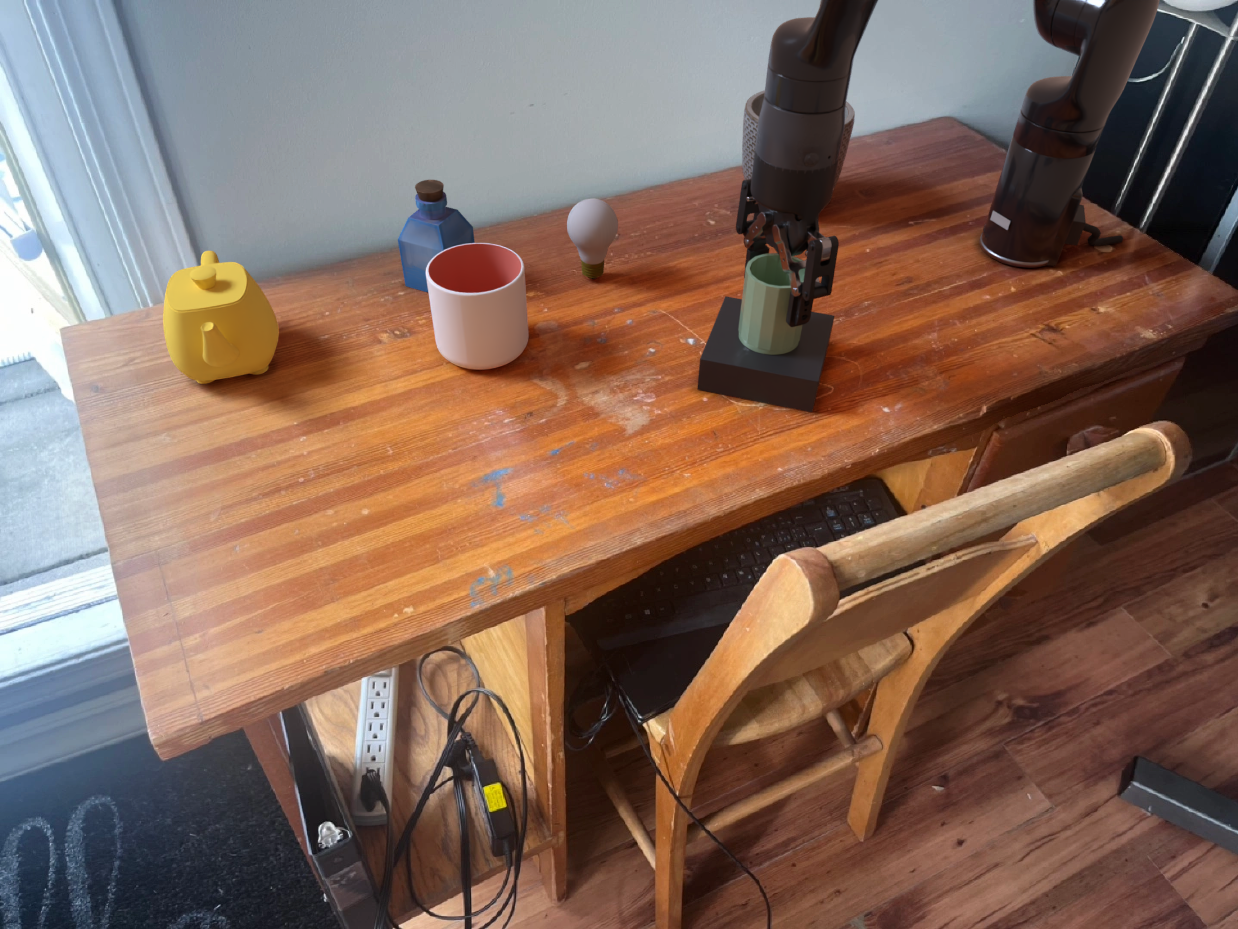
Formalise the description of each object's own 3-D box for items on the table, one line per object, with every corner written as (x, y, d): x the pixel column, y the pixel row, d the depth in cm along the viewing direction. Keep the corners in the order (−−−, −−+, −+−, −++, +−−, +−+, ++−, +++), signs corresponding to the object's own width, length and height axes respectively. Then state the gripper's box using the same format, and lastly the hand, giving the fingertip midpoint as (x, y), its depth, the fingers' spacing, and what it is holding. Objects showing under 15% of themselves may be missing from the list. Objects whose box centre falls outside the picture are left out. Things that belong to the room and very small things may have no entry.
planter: (728, 220, 124) (738, 124, 115) (741, 173, 134) (751, 81, 125) (834, 234, 122) (853, 137, 113) (840, 184, 131) (857, 91, 123)
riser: (828, 345, 104) (834, 315, 101) (812, 412, 96) (818, 381, 93) (722, 326, 106) (725, 295, 104) (697, 389, 98) (699, 358, 95)
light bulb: (627, 277, 113) (629, 201, 107) (593, 297, 110) (592, 219, 103) (592, 259, 116) (591, 183, 109) (558, 277, 113) (555, 201, 106)
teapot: (291, 403, 95) (265, 315, 88) (176, 425, 93) (139, 336, 85) (279, 307, 108) (256, 223, 100) (177, 324, 105) (145, 238, 98)
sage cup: (804, 325, 100) (816, 258, 94) (794, 360, 95) (806, 292, 90) (744, 314, 101) (753, 248, 96) (732, 348, 97) (740, 281, 91)
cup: (514, 381, 99) (508, 300, 92) (423, 368, 100) (410, 287, 93) (539, 327, 106) (535, 248, 99) (454, 315, 107) (444, 237, 100)
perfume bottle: (477, 273, 114) (468, 180, 105) (450, 298, 110) (437, 204, 101) (434, 261, 116) (421, 168, 107) (405, 286, 111) (389, 192, 103)
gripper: (878, 174, 80) (845, 331, 92) (793, 110, 90) (772, 259, 101) (802, 190, 78) (777, 348, 89) (723, 122, 88) (709, 273, 99)
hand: (774, 301), depth 95 cm, fingers open, 8 cm apart
